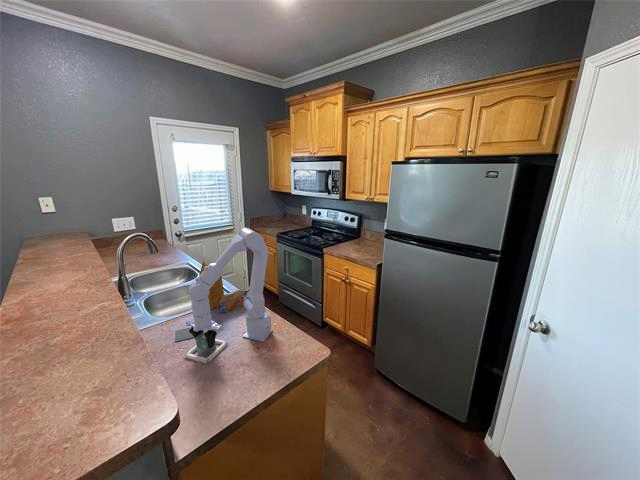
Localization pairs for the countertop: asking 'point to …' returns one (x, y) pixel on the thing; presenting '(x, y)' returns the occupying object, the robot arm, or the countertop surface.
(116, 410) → the countertop surface
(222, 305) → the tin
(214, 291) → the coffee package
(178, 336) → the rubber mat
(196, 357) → the pocket frame
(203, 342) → the block
